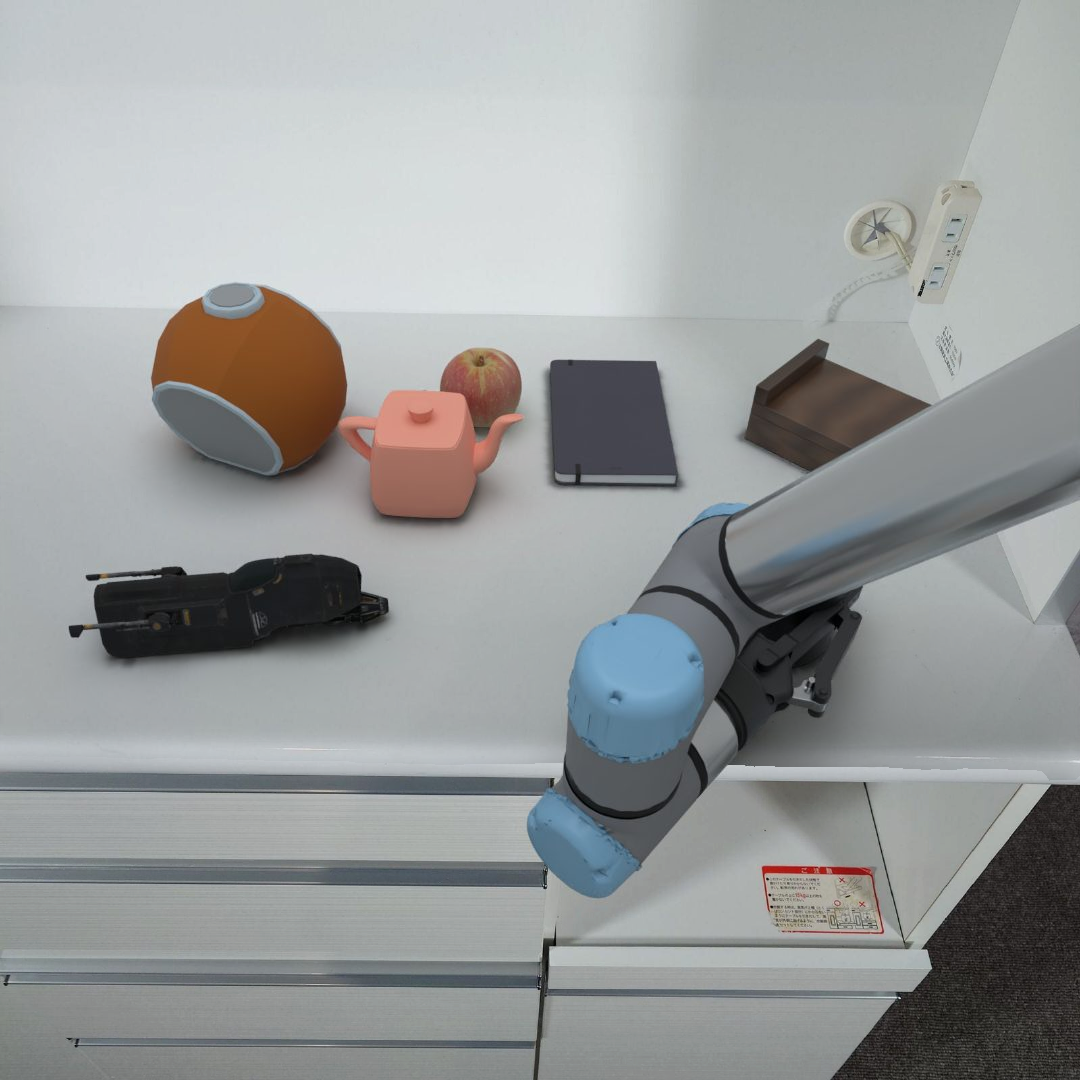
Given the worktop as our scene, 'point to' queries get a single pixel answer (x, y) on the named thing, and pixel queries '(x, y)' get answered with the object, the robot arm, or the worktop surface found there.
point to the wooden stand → (822, 409)
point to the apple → (484, 383)
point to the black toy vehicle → (227, 604)
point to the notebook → (610, 424)
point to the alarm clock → (250, 378)
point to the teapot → (424, 452)
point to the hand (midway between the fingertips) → (853, 553)
